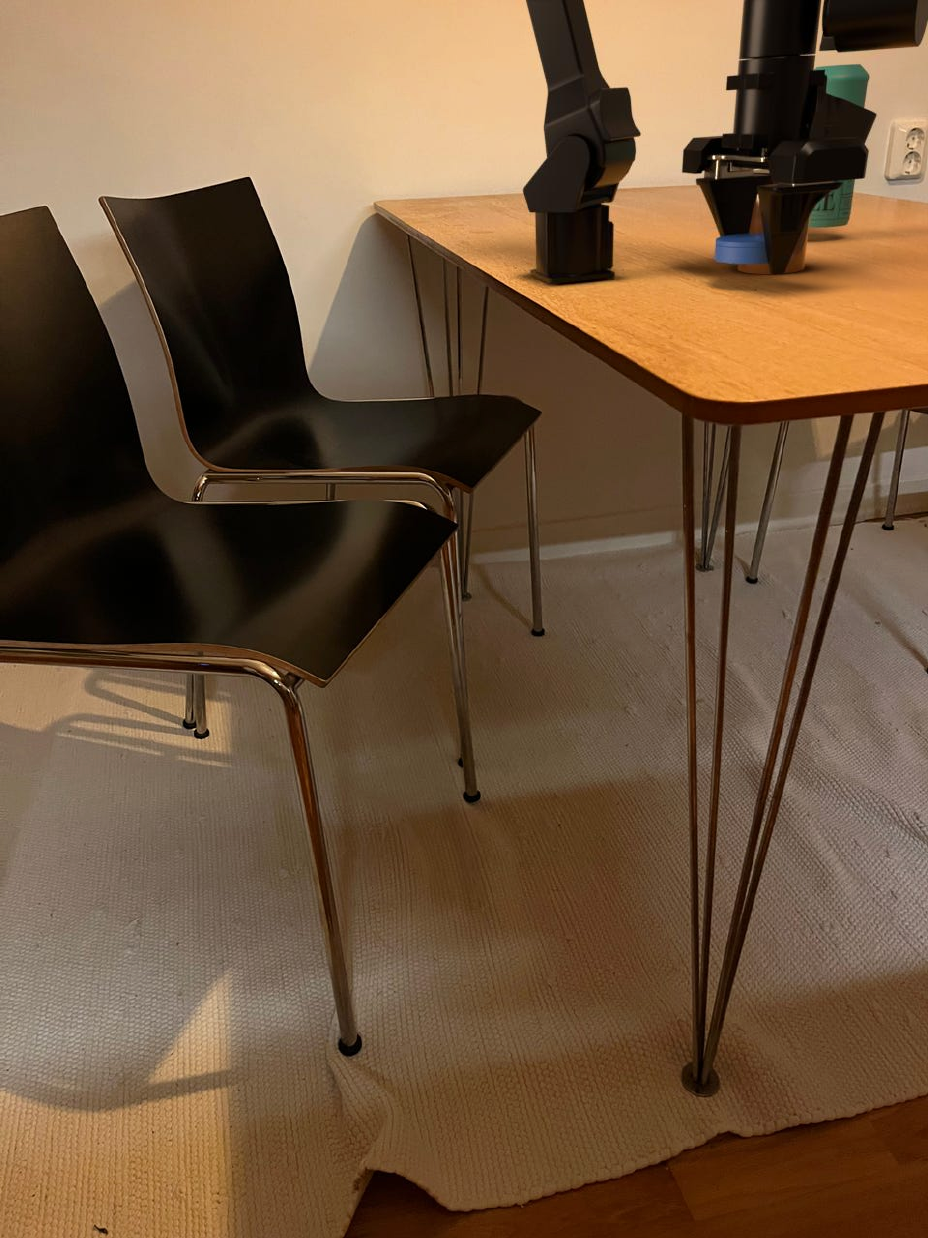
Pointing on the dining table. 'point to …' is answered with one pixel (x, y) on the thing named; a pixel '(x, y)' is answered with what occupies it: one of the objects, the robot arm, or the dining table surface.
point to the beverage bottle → (853, 88)
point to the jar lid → (741, 249)
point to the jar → (756, 227)
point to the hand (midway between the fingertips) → (756, 268)
